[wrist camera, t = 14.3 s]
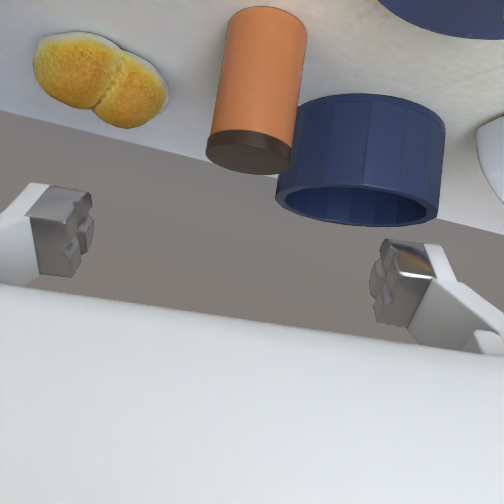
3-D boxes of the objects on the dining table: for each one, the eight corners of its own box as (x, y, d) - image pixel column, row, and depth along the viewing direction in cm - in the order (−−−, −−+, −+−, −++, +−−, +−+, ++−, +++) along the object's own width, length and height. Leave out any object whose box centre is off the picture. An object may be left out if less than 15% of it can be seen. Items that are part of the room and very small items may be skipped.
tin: (278, 145, 44) (268, 212, 43) (300, 80, 31) (287, 173, 31) (407, 167, 44) (400, 233, 44) (478, 110, 32) (470, 202, 31)
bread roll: (56, 6, 27) (42, 69, 27) (185, 72, 33) (176, 125, 32) (23, 55, 34) (12, 106, 33) (136, 104, 39) (128, 148, 39)
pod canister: (226, 48, 29) (207, 167, 28) (227, -3, 24) (203, 137, 23) (301, 61, 29) (284, 179, 28) (316, 13, 24) (297, 153, 23)
